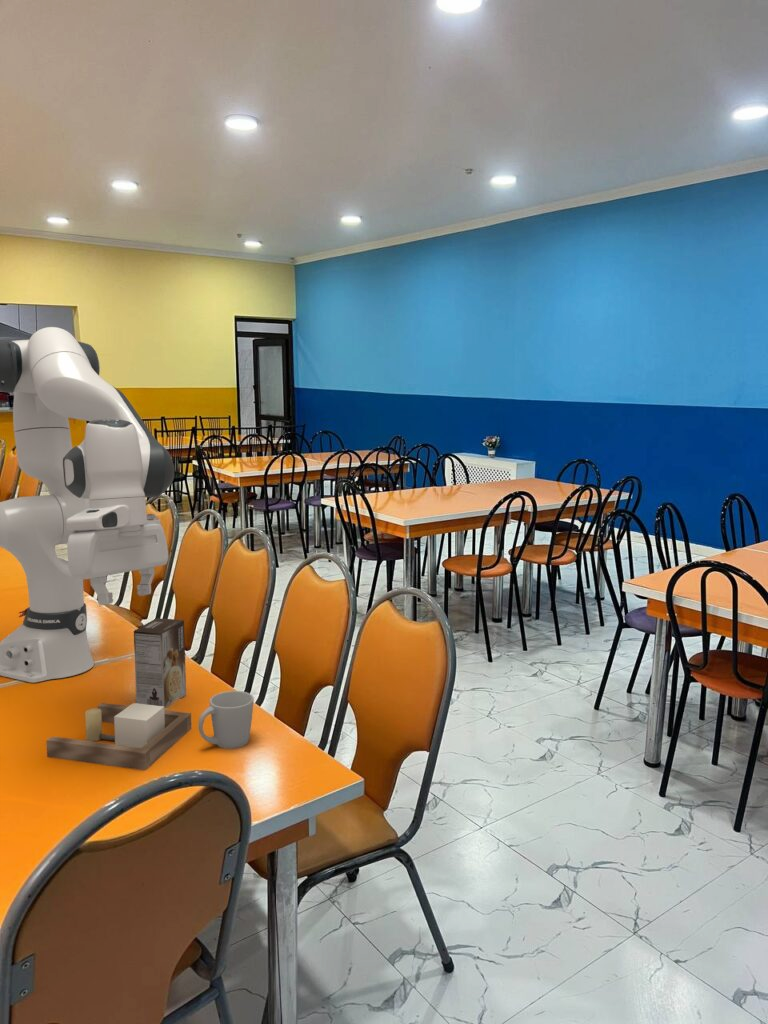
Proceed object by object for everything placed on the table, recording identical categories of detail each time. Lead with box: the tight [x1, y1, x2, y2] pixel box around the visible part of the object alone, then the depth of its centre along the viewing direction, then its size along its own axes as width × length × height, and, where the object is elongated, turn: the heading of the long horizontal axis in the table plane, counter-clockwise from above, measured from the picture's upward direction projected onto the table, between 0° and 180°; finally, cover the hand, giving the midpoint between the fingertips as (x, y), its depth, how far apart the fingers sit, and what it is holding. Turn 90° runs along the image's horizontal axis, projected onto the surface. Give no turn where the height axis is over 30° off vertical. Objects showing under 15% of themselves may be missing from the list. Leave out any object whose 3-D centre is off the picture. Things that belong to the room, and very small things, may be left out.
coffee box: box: [133, 617, 187, 710], centre depth 147 cm, size 9×6×16 cm
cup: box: [198, 690, 255, 750], centre depth 129 cm, size 8×10×8 cm
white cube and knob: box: [84, 702, 165, 748], centre depth 129 cm, size 13×6×6 cm, turn 78°
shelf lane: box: [45, 702, 192, 771], centre depth 129 cm, size 18×16×4 cm
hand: (125, 599), depth 123 cm, fingers open, 8 cm apart
